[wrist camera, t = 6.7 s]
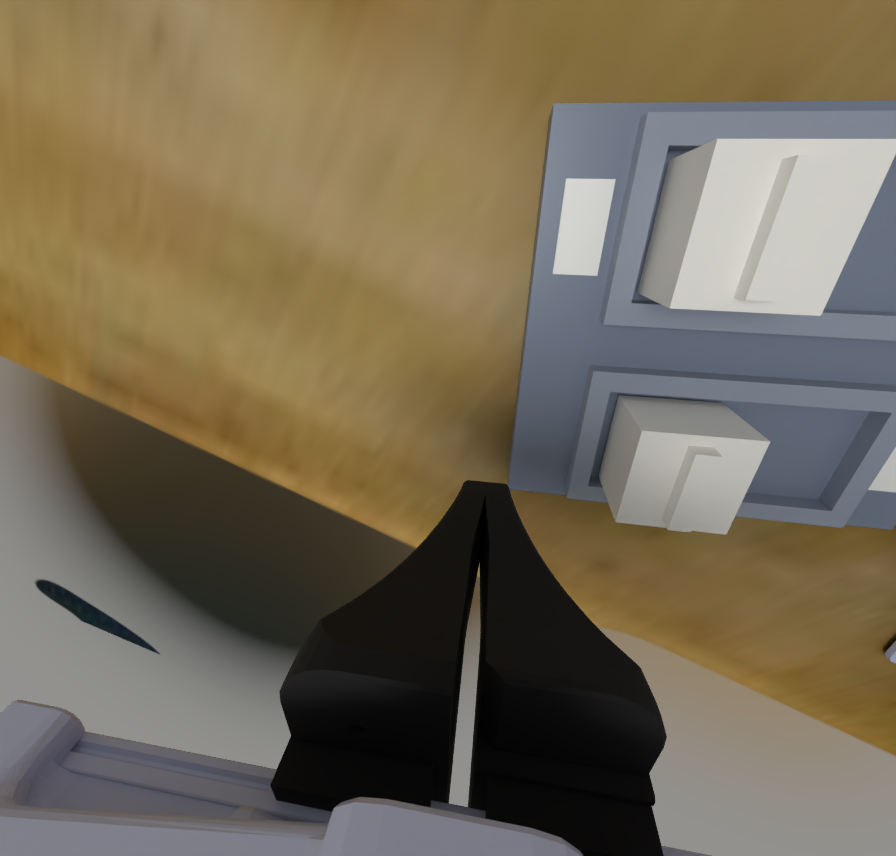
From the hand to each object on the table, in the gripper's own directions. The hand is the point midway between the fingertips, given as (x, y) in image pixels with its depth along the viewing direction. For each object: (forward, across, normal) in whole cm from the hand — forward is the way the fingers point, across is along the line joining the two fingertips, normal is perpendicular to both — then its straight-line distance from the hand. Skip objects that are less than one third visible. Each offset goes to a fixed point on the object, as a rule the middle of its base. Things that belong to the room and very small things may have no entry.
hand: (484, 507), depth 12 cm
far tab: (+6, -7, 0) cm, 9 cm away
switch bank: (+8, -10, -4) cm, 13 cm away
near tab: (+6, -7, -8) cm, 12 cm away
